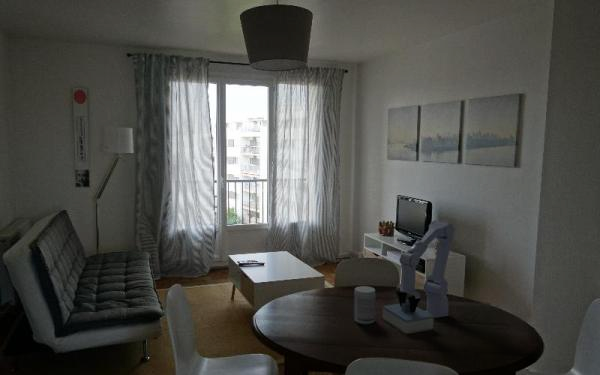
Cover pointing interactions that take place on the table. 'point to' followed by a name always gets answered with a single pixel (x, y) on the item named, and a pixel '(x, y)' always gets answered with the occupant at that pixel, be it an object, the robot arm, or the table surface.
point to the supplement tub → (364, 304)
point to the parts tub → (410, 326)
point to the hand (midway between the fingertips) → (407, 309)
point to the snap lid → (407, 312)
